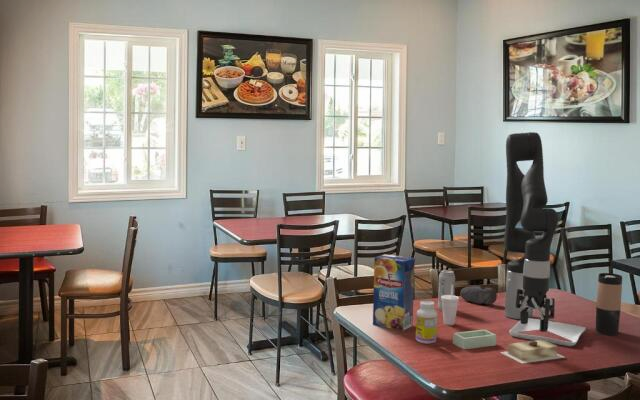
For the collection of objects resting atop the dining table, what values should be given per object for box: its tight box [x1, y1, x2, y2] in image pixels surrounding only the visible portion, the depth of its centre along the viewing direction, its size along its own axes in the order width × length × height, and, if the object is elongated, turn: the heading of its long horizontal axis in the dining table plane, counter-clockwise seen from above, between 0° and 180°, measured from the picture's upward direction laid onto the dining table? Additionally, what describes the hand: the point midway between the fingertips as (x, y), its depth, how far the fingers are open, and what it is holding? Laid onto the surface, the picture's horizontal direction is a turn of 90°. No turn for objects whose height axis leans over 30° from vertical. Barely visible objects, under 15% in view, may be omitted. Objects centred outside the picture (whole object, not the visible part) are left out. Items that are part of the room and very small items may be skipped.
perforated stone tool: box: [459, 285, 498, 306], centre depth 257 cm, size 15×5×7 cm, turn 50°
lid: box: [507, 340, 558, 361], centre depth 193 cm, size 13×6×4 cm, turn 112°
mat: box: [500, 350, 565, 364], centre depth 194 cm, size 16×10×1 cm, turn 112°
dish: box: [452, 329, 497, 350], centre depth 202 cm, size 12×6×4 cm, turn 112°
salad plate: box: [508, 317, 587, 347], centre depth 215 cm, size 21×21×3 cm
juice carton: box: [372, 253, 416, 331], centre depth 224 cm, size 12×8×24 cm, turn 56°
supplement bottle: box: [415, 300, 438, 345], centre depth 208 cm, size 7×7×13 cm
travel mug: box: [595, 272, 623, 336], centre depth 221 cm, size 8×8×20 cm
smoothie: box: [441, 285, 460, 326], centre depth 228 cm, size 6×6×14 cm
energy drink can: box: [437, 269, 456, 312], centre depth 246 cm, size 6×6×15 cm
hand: (533, 327), depth 193 cm, fingers open, 8 cm apart
